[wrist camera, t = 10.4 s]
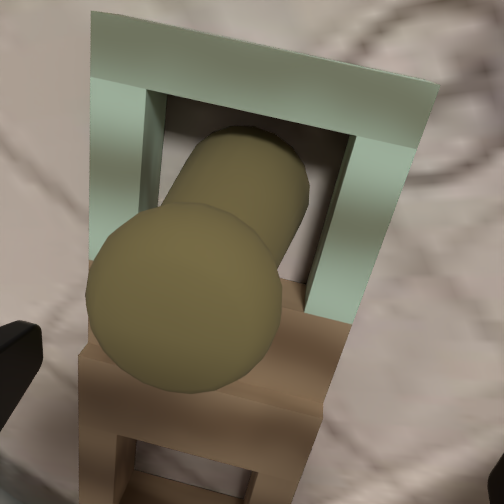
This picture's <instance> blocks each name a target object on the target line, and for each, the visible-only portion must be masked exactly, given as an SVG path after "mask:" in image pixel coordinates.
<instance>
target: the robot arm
mask: <svg viewBox="0 0 504 504" xmlns="http://www.w3.org/2000/svg"><path fill="white" fill-rule="evenodd" d="M42 361H43V346H42V332H41V328H40V326H39V325H37V324H34V323H30V322H26V321H21V320H18V321H14V322H11V323H9V324H6V325H3V326H1V327H0V431H1V430H2V428H3V427H4V425H5V424H6V422H7V420H8V419H9V417H10V416H11V414H12V412H13V411H14V409H15V408H16V406H17V404H18V403H19V401H20V400H21V398H22V396H23V395H24V393H25V391H26V390H27V388H28V387H29V385H30V383H31V382H32V380H33V379H34V377H35V375H36V374H37V372H38V371H39V369H40V367H41V364H42ZM488 494H489V501H490V504H504V454H503V455H502V457H501V458H500V460H499V461H498V462H497V464H496V465H495V467H494V468H493V470H492V471H491V473H490V475H489V478H488Z"/></svg>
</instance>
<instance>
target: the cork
mask: <svg viewBox="0 0 504 504" xmlns="http://www.w3.org/2000/svg"><path fill="white" fill-rule="evenodd" d="M309 188H310V185H309V181H308V177H307V174H306V170H305V166H304V164H303V163H302V161H301V160H300V158H299V157H298V155H297V154H296V152H295V151H294V149H293V148H292V147H291V146H290V145H289V144H287V143H286V142H285V141H283V140H282V139H281V138H280V137H278V136H277V135H276V134H274V133H271V132H268V131H266V130H263V129H260V128H257V127H254V126H231V127H228V128H225V129H222V130H219V131H216V132H213V133H211V134H210V135H209V136H208V137H206V138H205V139H204V140H202V141H201V142H200V143H198V144H197V145H196V147H195V148H194V150H193V151H192V153H191V154H190V156H189V158H188V159H187V161H186V162H185V164H184V166H183V168H182V169H181V171H180V173H179V175H178V176H177V178H176V180H175V182H174V183H173V185H172V187H171V189H170V190H169V192H168V194H167V196H166V197H165V199H164V201H163V203H162V204H161V206H159V207H156V208H152V209H149V210H145V211H141V212H139V213H138V214H136V215H135V216H134V217H132V218H131V219H130V220H128V221H127V222H125V223H124V224H123V225H121V226H120V227H119V228H117V229H116V230H115V231H114V232H113V233H111V234H110V235H109V236H108V237H107V239H106V241H105V242H104V244H103V246H102V247H101V249H100V250H99V252H98V254H97V255H96V257H95V259H94V261H93V263H92V265H91V267H90V269H89V274H88V280H87V287H86V293H85V297H86V307H87V312H88V317H89V322H90V327H91V330H92V332H93V334H94V336H95V337H96V339H97V341H98V343H99V345H100V346H101V348H102V350H103V351H104V352H105V353H106V354H107V355H108V357H109V358H110V359H111V360H112V361H113V362H114V363H115V364H116V365H117V366H118V367H119V368H120V369H121V370H123V371H125V372H126V373H128V374H129V375H131V376H132V377H134V378H136V379H137V380H139V381H140V382H142V383H144V384H147V385H150V386H153V387H156V388H158V389H161V390H164V391H168V392H176V393H185V394H196V393H203V392H210V391H215V390H218V389H220V388H222V387H224V386H226V385H228V384H231V383H233V382H235V381H237V380H238V379H240V378H242V377H244V376H246V375H247V374H248V373H249V372H250V371H251V370H252V369H253V368H254V367H255V366H256V365H257V364H258V363H259V362H260V361H261V360H262V359H263V358H264V356H265V355H266V353H267V351H268V350H269V348H270V346H271V344H272V341H273V339H274V337H275V335H276V332H277V330H278V328H279V326H280V320H281V313H282V284H281V281H280V277H279V274H278V271H277V269H278V267H279V265H280V263H281V261H282V259H283V257H284V255H285V253H286V251H287V249H288V247H289V245H290V243H291V242H292V240H293V238H294V236H295V234H296V232H297V230H298V228H299V226H300V224H301V222H302V220H303V217H304V215H305V212H306V210H307V208H308V205H309Z"/></svg>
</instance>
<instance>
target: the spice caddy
mask: <svg viewBox="0 0 504 504" xmlns="http://www.w3.org/2000/svg"><path fill="white" fill-rule="evenodd" d="M439 88H440V85H438V84H436V83H433V82H430V81H427V80H424V79H420V78H415V77H410V76H406V75H401V74H396V73H391V72H387V71H382V70H377V69H373V68H368V67H363V66H359V65H354V64H349V63H345V62H340V61H335V60H331V59H326V58H321V57H316V56H312V55H307V54H302V53H298V52H293V51H288V50H284V49H279V48H274V47H270V46H265V45H260V44H256V43H251V42H246V41H241V40H237V39H232V38H227V37H223V36H218V35H213V34H209V33H204V32H199V31H195V30H190V29H185V28H181V27H176V26H171V25H166V24H162V23H157V22H152V21H148V20H143V19H138V18H134V17H129V16H124V15H119V14H112V13H104V12H97V11H91V58H90V180H89V269H90V267H91V265H92V263H93V261H94V259H95V257H96V255H97V254H98V252H99V250H100V249H101V247H102V246H103V244H104V242H105V241H106V239H107V237H108V236H109V235H110V234H111V233H113V232H114V231H115V230H116V229H117V228H119V227H120V226H121V225H123V224H124V223H125V222H127V221H128V220H130V219H131V218H132V217H134V216H135V215H136V214H138V213H139V212H141V211H145V210H149V209H152V208H156V207H157V205H158V194H159V182H160V171H161V160H162V149H163V137H164V126H165V115H166V103H167V94H171V95H175V96H180V97H184V98H189V99H193V100H198V101H202V102H207V103H211V104H216V105H220V106H225V107H229V108H234V109H238V110H243V111H247V112H252V113H256V114H261V115H265V116H270V117H274V118H279V119H283V120H288V121H292V122H296V123H301V124H305V125H310V126H314V127H319V128H323V129H328V130H332V131H337V132H341V133H346V134H350V136H349V140H348V143H347V146H346V150H345V153H344V157H343V160H342V164H341V167H340V171H339V174H338V177H337V181H336V184H335V188H334V191H333V195H332V198H331V201H330V205H329V208H328V212H327V215H326V219H325V222H324V226H323V229H322V232H321V236H320V239H319V243H318V246H317V250H316V253H315V256H314V260H313V263H312V267H311V270H310V274H309V277H308V280H307V284H302V283H298V282H294V281H289V280H285V279H281V278H280V281H281V284H282V313H281V320H280V326H279V328H278V330H277V332H276V335H275V337H274V339H273V341H272V344H271V346H270V348H269V350H268V351H267V353H266V355H265V356H264V358H263V359H262V360H261V361H260V362H259V363H258V364H257V365H256V366H255V367H254V368H253V369H252V370H251V371H250V372H249V373H248V374H247V375H246V376H244V377H242V378H240V379H238V380H237V381H235V382H233V383H231V384H228V385H226V386H224V387H222V388H220V389H218V390H215V391H210V392H203V393H196V394H185V393H176V392H168V391H164V390H161V389H158V388H156V387H153V386H150V385H147V384H144V383H142V382H140V381H139V380H137V379H136V378H134V377H132V376H131V375H129V374H128V373H126V372H125V371H123V370H121V369H120V368H119V367H118V366H117V365H116V364H115V363H114V362H113V361H112V360H111V359H110V358H109V357H108V355H107V354H106V353H105V352H104V351H103V350H102V348H101V346H100V345H99V343H98V341H97V339H96V337H95V336H94V334H93V332H92V330H91V327H90V322H89V317H88V344H87V345H86V346H85V347H84V349H83V350H82V351H81V352H80V354H79V355H78V410H79V504H291V502H292V499H293V497H294V494H295V491H296V489H297V486H298V483H299V481H300V478H301V475H302V473H303V470H304V468H305V465H306V462H307V460H308V457H309V454H310V452H311V449H312V446H313V444H314V441H315V438H316V436H317V433H318V431H319V428H320V425H321V423H322V420H323V402H324V399H325V397H326V394H327V391H328V388H329V386H330V383H331V380H332V378H333V375H334V372H335V369H336V367H337V364H338V361H339V359H340V356H341V353H342V351H343V348H344V345H345V342H346V340H347V337H348V334H349V332H350V329H351V326H352V323H353V321H354V318H355V315H356V313H357V310H358V307H359V305H360V302H361V299H362V296H363V294H364V291H365V288H366V286H367V283H368V280H369V277H370V275H371V272H372V269H373V267H374V264H375V261H376V259H377V256H378V253H379V250H380V248H381V245H382V242H383V240H384V237H385V234H386V231H387V229H388V226H389V223H390V221H391V218H392V215H393V213H394V210H395V207H396V204H397V202H398V199H399V196H400V194H401V191H402V188H403V185H404V183H405V180H406V177H407V175H408V172H409V169H410V167H411V164H412V161H413V158H414V156H415V153H416V150H417V148H418V145H419V142H420V139H421V137H422V134H423V131H424V129H425V126H426V123H427V121H428V118H429V115H430V112H431V110H432V107H433V104H434V102H435V99H436V96H437V93H438V91H439ZM137 440H140V441H143V442H147V443H151V444H155V445H158V446H162V447H166V448H169V449H173V450H177V451H181V452H184V453H188V454H192V455H196V456H199V457H203V458H207V459H210V460H214V461H218V462H222V463H225V464H229V465H233V466H237V467H240V468H244V469H248V470H251V471H252V473H251V476H250V480H249V483H248V487H247V490H246V494H245V497H244V500H243V499H239V498H236V497H232V496H228V495H225V494H221V493H217V492H214V491H210V490H206V489H203V488H199V487H195V486H192V485H188V484H184V483H181V482H177V481H173V480H170V479H166V478H162V477H158V476H155V475H151V474H147V473H144V472H140V471H136V470H134V465H135V454H136V442H137Z"/></svg>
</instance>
